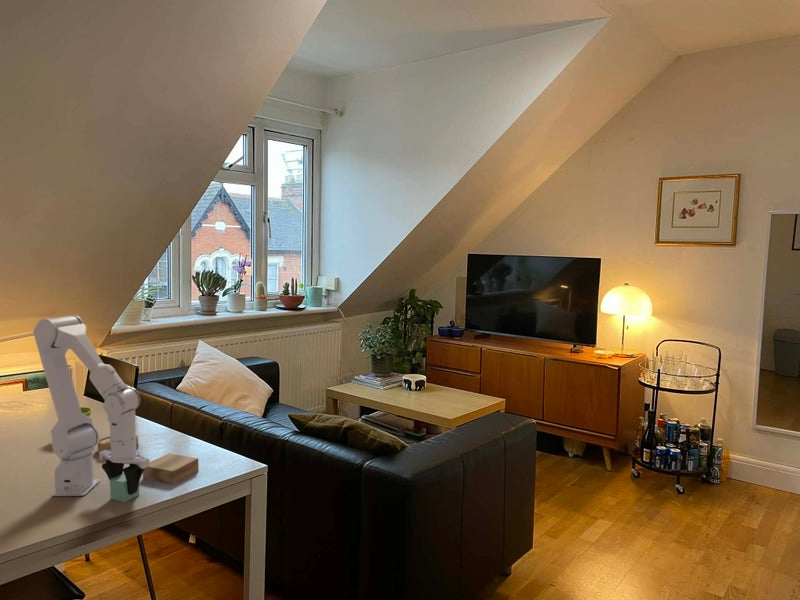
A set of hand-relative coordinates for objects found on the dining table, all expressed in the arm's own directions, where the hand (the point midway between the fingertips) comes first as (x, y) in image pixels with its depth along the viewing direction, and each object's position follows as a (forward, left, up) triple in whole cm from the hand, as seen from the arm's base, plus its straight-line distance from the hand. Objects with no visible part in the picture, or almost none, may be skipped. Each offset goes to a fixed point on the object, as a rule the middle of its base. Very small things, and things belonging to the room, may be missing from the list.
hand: (125, 491), depth 153 cm
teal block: (0, 0, -1) cm, 1 cm away
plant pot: (+46, +32, -2) cm, 56 cm away
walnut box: (+14, -7, -2) cm, 16 cm away
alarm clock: (+33, +14, -2) cm, 36 cm away
